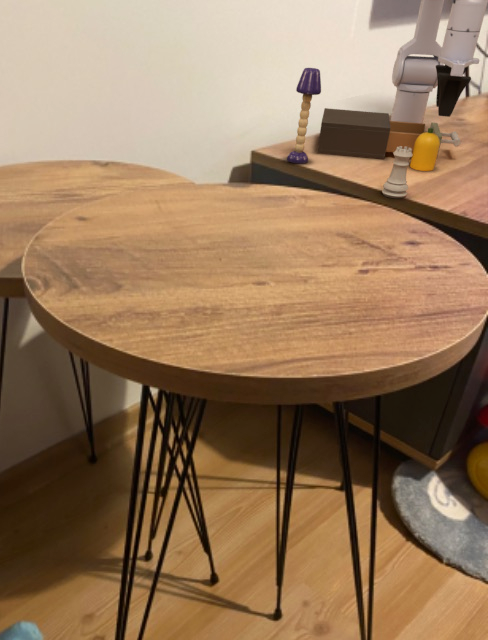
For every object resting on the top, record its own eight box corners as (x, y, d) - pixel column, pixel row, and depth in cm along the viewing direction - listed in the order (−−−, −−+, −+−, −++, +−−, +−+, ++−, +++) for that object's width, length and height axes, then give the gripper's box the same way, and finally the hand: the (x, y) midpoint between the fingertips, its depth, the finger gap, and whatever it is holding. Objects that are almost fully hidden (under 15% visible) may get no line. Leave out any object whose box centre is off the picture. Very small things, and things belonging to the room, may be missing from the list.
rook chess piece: (377, 190, 118) (387, 144, 113) (401, 190, 118) (412, 144, 113) (385, 199, 114) (395, 152, 109) (410, 199, 114) (421, 152, 110)
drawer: (452, 145, 140) (458, 124, 137) (458, 160, 131) (464, 138, 128) (372, 138, 143) (377, 117, 140) (373, 153, 134) (377, 130, 131)
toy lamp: (297, 155, 133) (308, 65, 123) (315, 161, 131) (329, 69, 121) (282, 160, 131) (293, 68, 121) (300, 165, 128) (313, 72, 118)
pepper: (409, 163, 132) (417, 124, 127) (432, 165, 131) (442, 126, 127) (410, 169, 128) (419, 130, 124) (434, 172, 128) (444, 132, 123)
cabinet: (382, 143, 143) (388, 113, 140) (384, 159, 133) (390, 128, 130) (320, 137, 145) (324, 108, 142) (317, 153, 135) (321, 122, 132)
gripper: (491, 37, 110) (468, 122, 118) (482, 26, 121) (461, 104, 129) (447, 34, 111) (427, 118, 119) (443, 23, 123) (425, 101, 131)
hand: (442, 111), depth 124 cm, fingers open, 7 cm apart
